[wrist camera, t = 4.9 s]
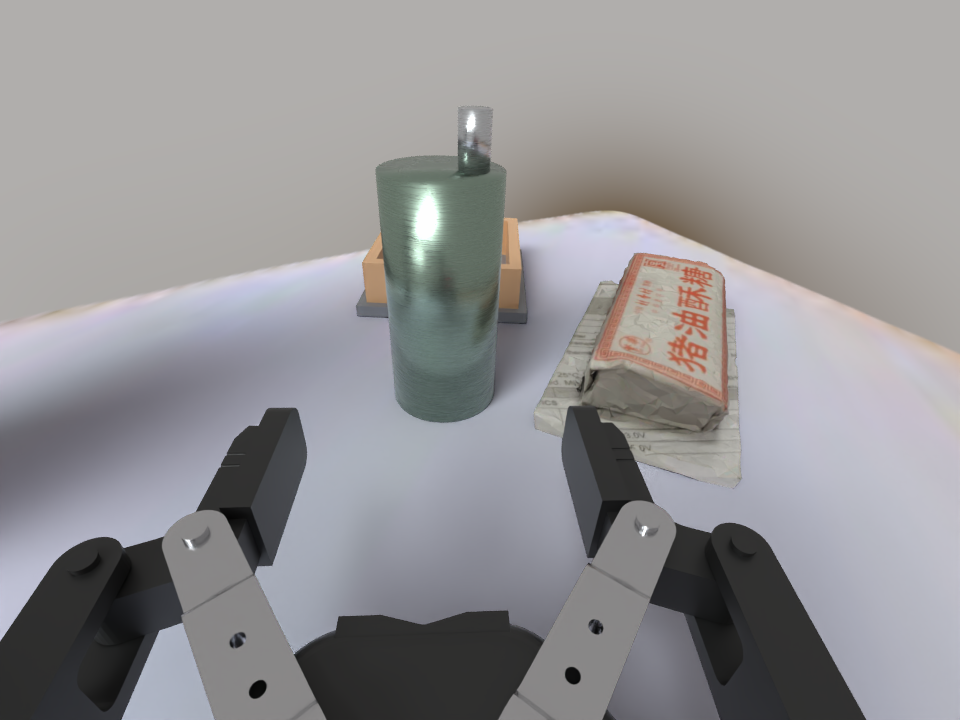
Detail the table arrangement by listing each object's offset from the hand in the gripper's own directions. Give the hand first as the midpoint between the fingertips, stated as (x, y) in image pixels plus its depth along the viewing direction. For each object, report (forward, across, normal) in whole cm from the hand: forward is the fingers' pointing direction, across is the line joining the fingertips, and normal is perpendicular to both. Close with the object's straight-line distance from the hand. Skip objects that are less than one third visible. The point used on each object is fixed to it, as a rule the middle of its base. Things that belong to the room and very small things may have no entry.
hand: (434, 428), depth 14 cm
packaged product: (+13, -13, +8) cm, 20 cm away
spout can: (+11, 0, +7) cm, 13 cm away
